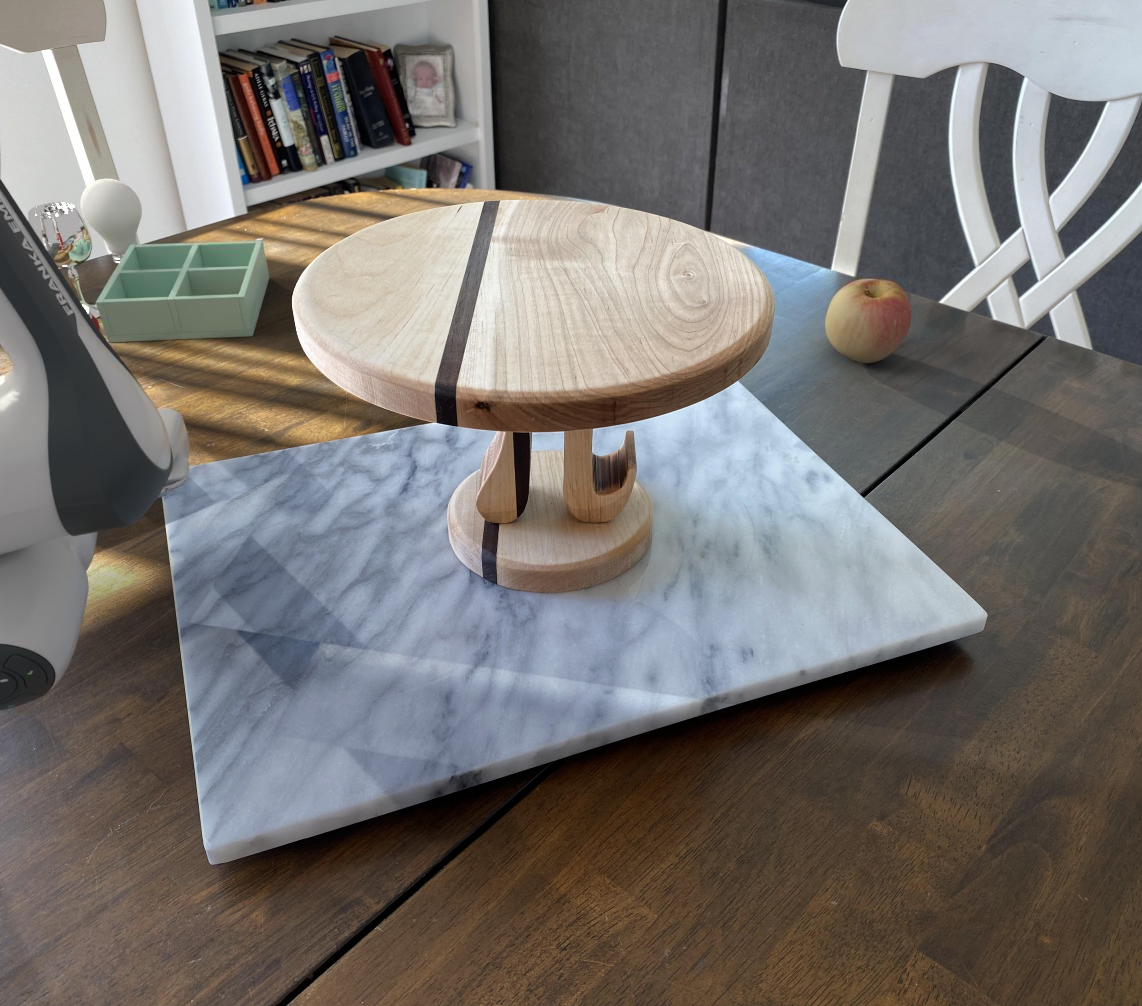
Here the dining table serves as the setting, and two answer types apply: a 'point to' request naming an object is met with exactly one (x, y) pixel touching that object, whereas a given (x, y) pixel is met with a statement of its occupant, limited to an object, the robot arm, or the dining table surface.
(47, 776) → the dining table surface
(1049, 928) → the dining table surface
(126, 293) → the four compartment organizer
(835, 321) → the apple
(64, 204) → the wineglass
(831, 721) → the dining table surface
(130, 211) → the light bulb
